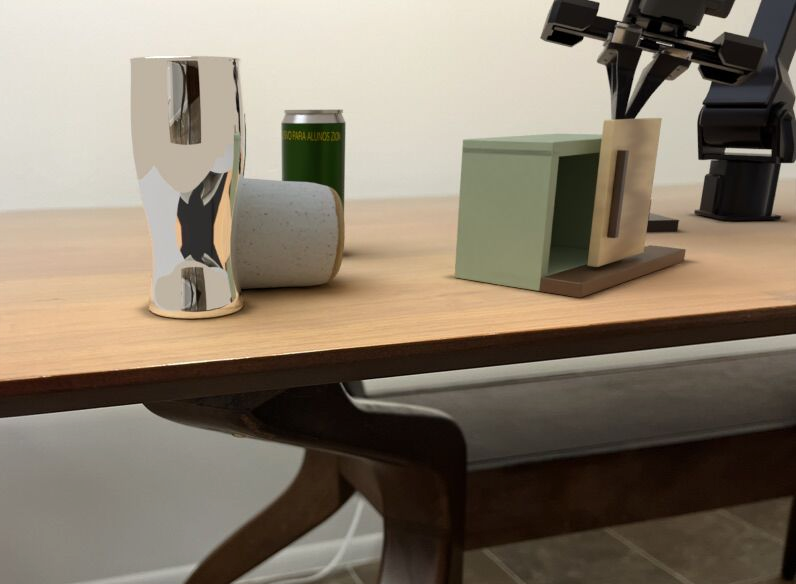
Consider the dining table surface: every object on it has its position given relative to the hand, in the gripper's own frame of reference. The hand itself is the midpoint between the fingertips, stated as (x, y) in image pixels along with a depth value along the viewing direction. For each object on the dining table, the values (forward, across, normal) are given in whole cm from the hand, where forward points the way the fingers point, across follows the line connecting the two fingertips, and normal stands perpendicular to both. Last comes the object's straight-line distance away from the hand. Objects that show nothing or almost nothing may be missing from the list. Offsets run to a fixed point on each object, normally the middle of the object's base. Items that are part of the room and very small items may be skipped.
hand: (617, 135), depth 75 cm
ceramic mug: (+21, -24, -23) cm, 39 cm away
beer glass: (+23, -26, -31) cm, 47 cm away
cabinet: (+13, -2, -14) cm, 20 cm away
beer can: (+18, -23, -11) cm, 31 cm away
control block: (+7, +4, +9) cm, 12 cm away
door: (+12, 0, -17) cm, 21 cm away
